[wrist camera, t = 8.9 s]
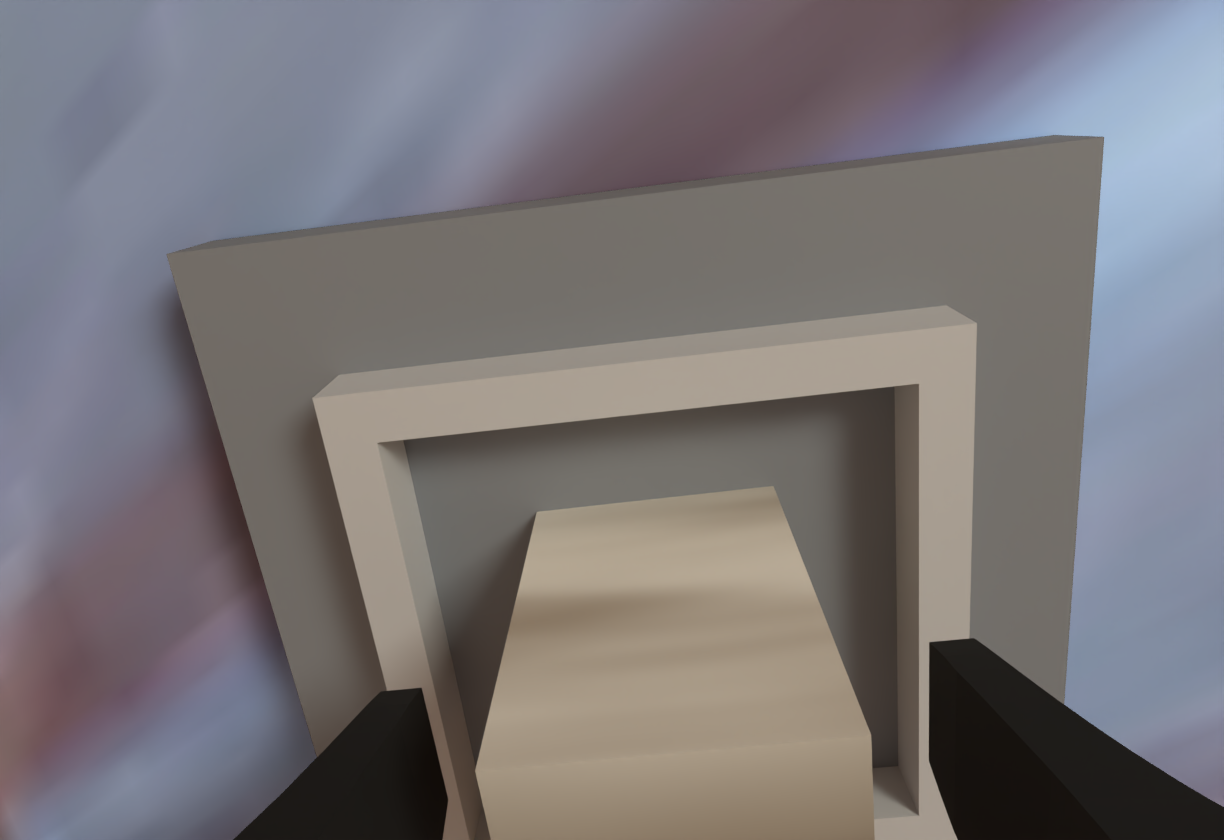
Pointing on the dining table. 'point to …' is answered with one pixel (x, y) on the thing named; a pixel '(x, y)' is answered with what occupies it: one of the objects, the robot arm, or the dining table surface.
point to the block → (673, 683)
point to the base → (668, 418)
